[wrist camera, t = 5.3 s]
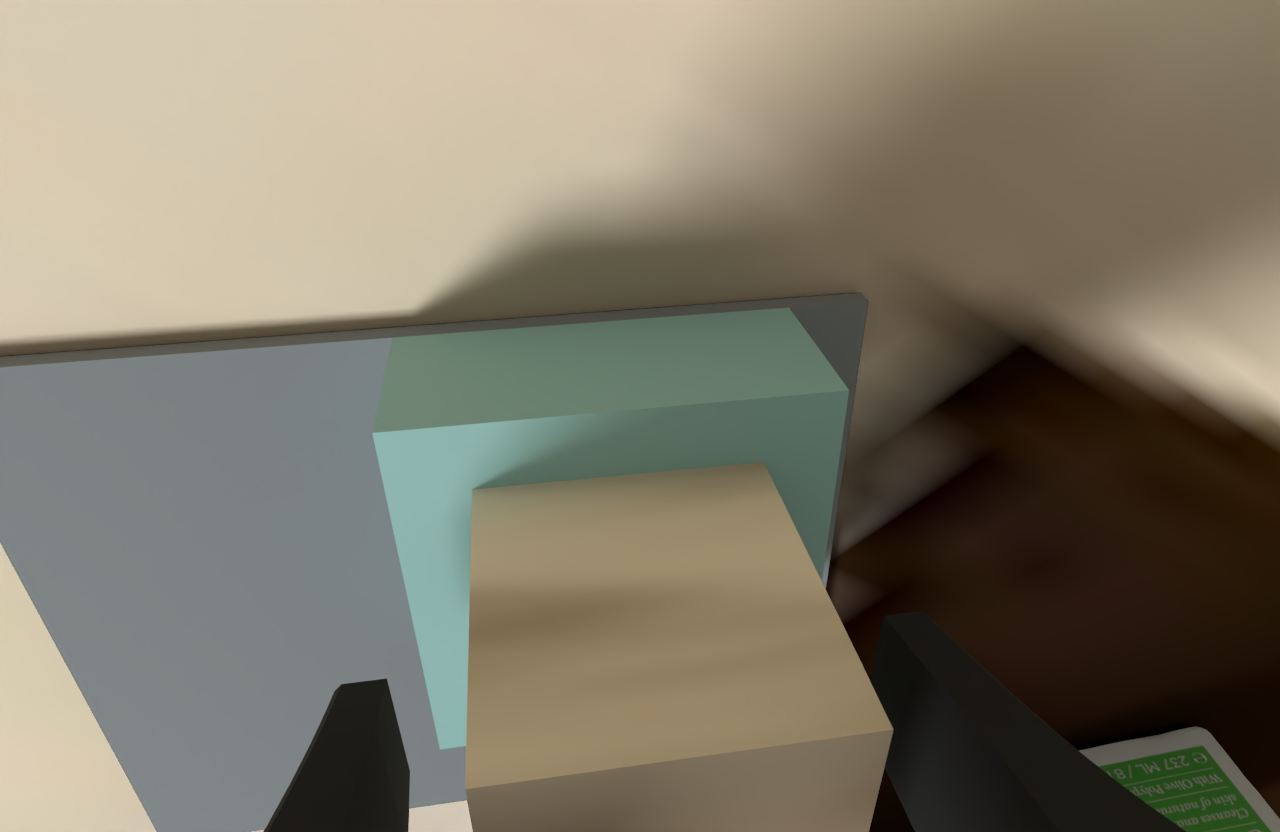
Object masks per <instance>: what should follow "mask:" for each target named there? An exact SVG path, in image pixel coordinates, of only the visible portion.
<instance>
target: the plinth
mask: <svg viewBox="0 0 1280 832" xmlns="http://www.w3.org/2000/svg"><path fill="white" fill-rule="evenodd" d="M848 395H849V389H848V388H847V387H846V385H845V384H844V383H843V381H842V380H841V378H840V377H839V376H838V374H837V373H836V371H835V370H834V369H833V367H832V366H831V365H830V363H829V362H828V360H827V359H826V358H825V356H824V355H823V354H822V352H821V351H820V349H819V348H818V347H817V345H816V344H815V343H814V341H813V340H812V338H811V337H810V336H809V334H808V333H807V332H806V330H805V329H804V327H803V326H802V325H801V323H800V322H799V321H798V319H797V318H796V316H795V315H794V314H793V312H792V311H791V310H790V308H777V309H763V310H750V311H737V312H724V313H711V314H698V315H684V316H671V317H658V318H645V319H632V320H618V321H605V322H592V323H579V324H566V325H552V326H539V327H526V328H513V329H500V330H487V331H473V332H460V333H447V334H434V335H421V336H407V337H394V338H392V341H391V346H390V351H389V356H388V360H387V365H386V370H385V375H384V379H383V384H382V389H381V394H380V399H379V403H378V408H377V413H376V418H375V422H374V427H373V432H372V434H373V439H374V443H375V448H376V453H377V457H378V462H379V467H380V471H381V476H382V481H383V485H384V490H385V495H386V499H387V504H388V509H389V513H390V518H391V523H392V527H393V532H394V537H395V542H396V546H397V551H398V556H399V560H400V565H401V570H402V574H403V579H404V584H405V588H406V593H407V598H408V602H409V607H410V612H411V616H412V621H413V626H414V630H415V635H416V640H417V644H418V649H419V654H420V658H421V663H422V668H423V672H424V677H425V682H426V686H427V691H428V696H429V700H430V705H431V710H432V714H433V719H434V724H435V728H436V733H437V738H438V742H439V747H440V749H448V748H455V747H462V746H466V733H467V690H468V646H469V603H470V560H471V517H472V489H482V488H493V487H503V486H514V485H525V484H535V483H546V482H557V481H567V480H578V479H588V478H599V477H610V476H620V475H631V474H642V473H652V472H663V471H673V470H684V469H695V468H705V467H716V466H726V465H737V464H748V463H758V462H764V464H765V466H766V468H767V470H768V472H769V474H770V476H771V478H772V480H773V482H774V484H775V486H776V488H777V490H778V493H779V495H780V497H781V499H782V501H783V503H784V505H785V507H786V509H787V511H788V513H789V515H790V517H791V519H792V521H793V523H794V525H795V528H796V530H797V532H798V534H799V536H800V538H801V540H802V542H803V544H804V546H805V548H806V550H807V552H808V554H809V556H810V558H811V560H812V563H813V565H814V567H815V569H816V571H817V573H818V575H819V577H820V579H821V581H822V577H823V570H824V563H825V556H826V549H827V542H828V535H829V528H830V521H831V514H832V507H833V500H834V493H835V486H836V479H837V472H838V465H839V458H840V451H841V444H842V437H843V430H844V423H845V416H846V409H847V402H848Z"/></svg>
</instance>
